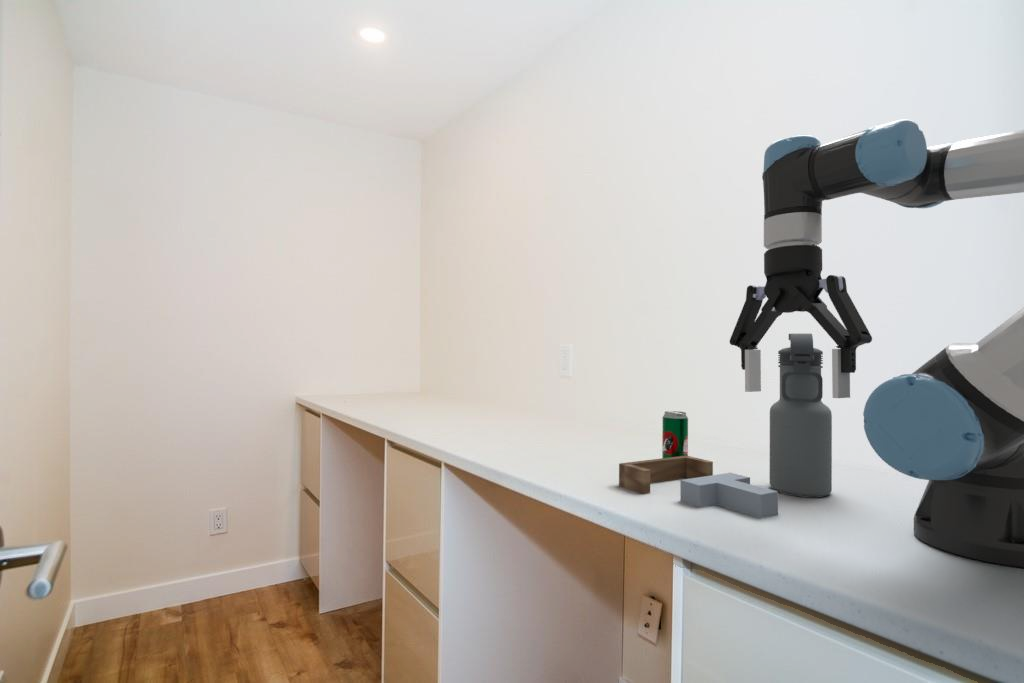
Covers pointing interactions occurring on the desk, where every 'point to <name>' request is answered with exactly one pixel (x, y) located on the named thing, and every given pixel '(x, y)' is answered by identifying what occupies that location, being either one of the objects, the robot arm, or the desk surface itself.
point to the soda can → (675, 434)
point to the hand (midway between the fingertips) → (793, 394)
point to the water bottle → (801, 424)
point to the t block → (730, 494)
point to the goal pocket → (661, 471)
